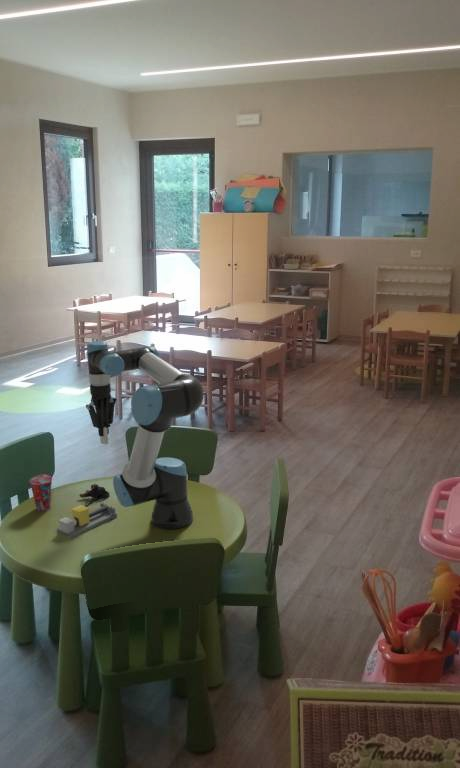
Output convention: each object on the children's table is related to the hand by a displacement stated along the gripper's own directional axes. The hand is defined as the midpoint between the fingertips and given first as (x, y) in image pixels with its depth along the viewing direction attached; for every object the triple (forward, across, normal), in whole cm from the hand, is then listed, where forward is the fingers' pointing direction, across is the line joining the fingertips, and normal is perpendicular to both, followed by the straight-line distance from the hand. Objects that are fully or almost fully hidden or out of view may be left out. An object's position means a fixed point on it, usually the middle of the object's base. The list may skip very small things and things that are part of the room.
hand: (104, 443), depth 262 cm
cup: (+25, +19, -16) cm, 35 cm away
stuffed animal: (+25, +1, -8) cm, 26 cm away
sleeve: (+23, +19, +8) cm, 31 cm away
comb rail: (+24, +16, +8) cm, 31 cm away
